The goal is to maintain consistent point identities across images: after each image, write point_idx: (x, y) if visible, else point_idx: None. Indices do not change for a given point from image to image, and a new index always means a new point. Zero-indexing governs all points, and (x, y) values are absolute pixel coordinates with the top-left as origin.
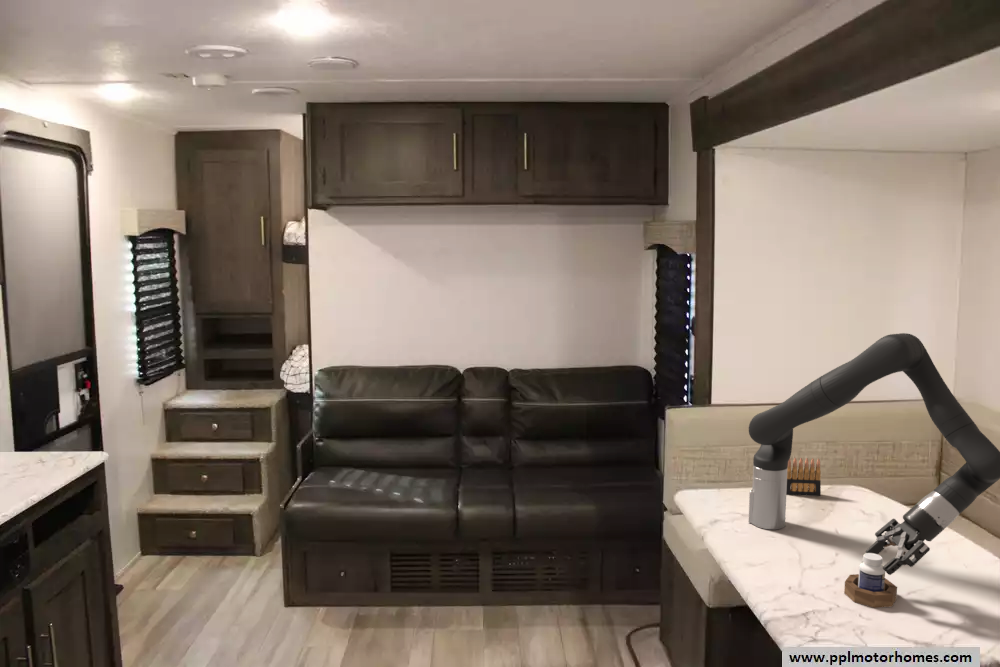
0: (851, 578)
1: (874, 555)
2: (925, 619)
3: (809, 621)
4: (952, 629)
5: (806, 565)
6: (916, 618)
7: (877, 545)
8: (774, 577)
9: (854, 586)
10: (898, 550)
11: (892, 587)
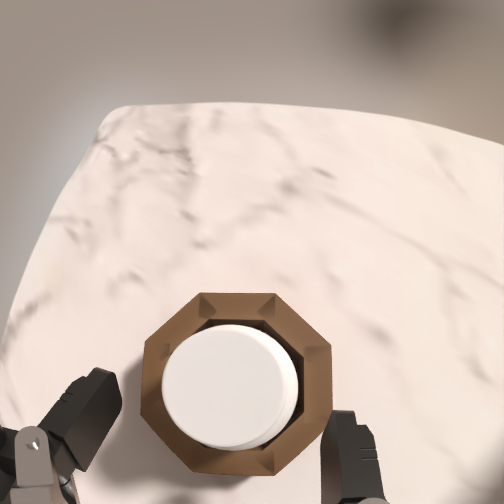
0: (296, 333)
1: (236, 408)
2: None
3: (151, 151)
4: None
5: (461, 281)
6: None
7: (335, 486)
8: (381, 166)
9: (226, 306)
10: (52, 483)
11: (192, 452)
